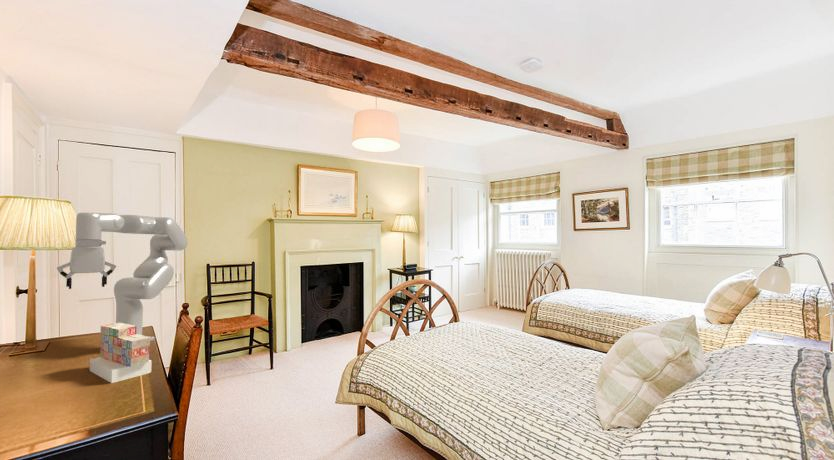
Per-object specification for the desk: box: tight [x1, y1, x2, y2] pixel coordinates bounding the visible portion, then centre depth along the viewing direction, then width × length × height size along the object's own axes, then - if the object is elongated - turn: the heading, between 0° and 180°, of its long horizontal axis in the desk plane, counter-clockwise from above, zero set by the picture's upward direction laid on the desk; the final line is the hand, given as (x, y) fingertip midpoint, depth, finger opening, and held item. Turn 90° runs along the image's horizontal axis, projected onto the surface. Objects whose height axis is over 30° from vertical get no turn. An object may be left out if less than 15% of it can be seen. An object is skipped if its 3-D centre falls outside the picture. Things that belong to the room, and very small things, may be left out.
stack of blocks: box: [99, 322, 151, 367], centre depth 137 cm, size 21×6×12 cm, turn 64°
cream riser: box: [89, 356, 153, 384], centre depth 136 cm, size 12×20×5 cm, turn 59°
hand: (86, 287), depth 142 cm, fingers open, 9 cm apart
